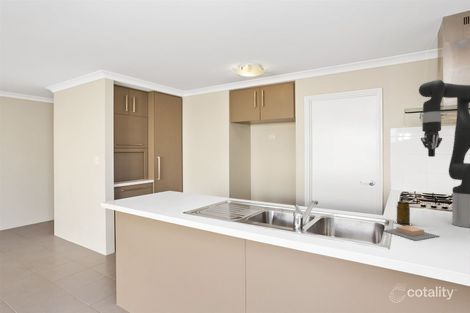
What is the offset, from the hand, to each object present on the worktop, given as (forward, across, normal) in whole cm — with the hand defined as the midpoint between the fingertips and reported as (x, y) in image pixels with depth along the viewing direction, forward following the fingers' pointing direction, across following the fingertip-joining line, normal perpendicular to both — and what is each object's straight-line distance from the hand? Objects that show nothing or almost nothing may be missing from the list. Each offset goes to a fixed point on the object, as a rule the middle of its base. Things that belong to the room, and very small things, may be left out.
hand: (431, 156), depth 132 cm
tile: (+35, +11, 0) cm, 37 cm away
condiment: (+37, 0, -14) cm, 40 cm away
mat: (+37, +15, 0) cm, 40 cm away
